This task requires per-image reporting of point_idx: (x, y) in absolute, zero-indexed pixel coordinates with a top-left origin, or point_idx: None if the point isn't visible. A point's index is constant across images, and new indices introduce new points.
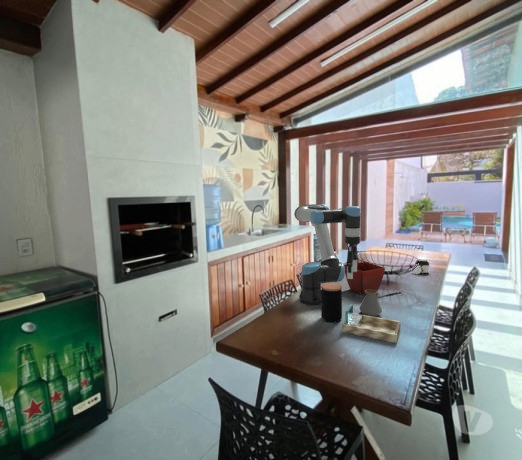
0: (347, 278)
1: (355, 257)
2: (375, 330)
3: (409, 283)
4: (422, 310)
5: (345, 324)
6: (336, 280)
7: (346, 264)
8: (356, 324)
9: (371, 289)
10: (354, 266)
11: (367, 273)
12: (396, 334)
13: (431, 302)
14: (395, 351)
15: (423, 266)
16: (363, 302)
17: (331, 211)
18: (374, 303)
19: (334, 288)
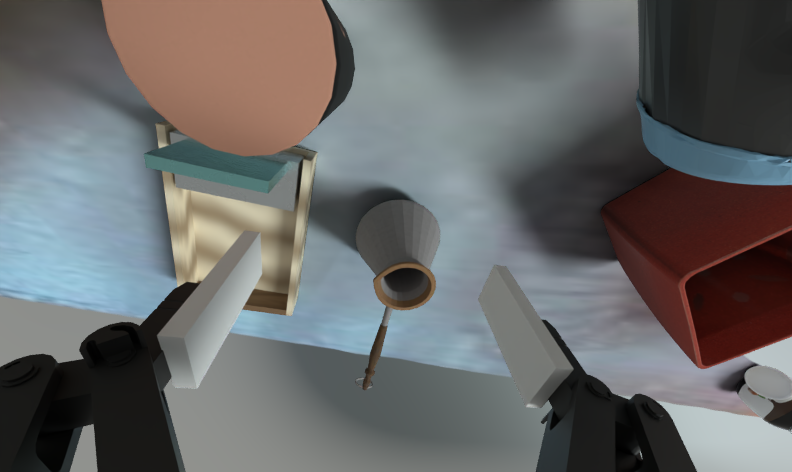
0: (243, 234)
1: (547, 444)
2: (175, 248)
3: (670, 347)
4: (446, 351)
5: (163, 139)
6: (639, 91)
7: (4, 381)
8: (188, 187)
9: (618, 251)
10: (504, 322)
11: (669, 293)
12: None
13: (504, 371)
14: (143, 275)
15: (768, 407)
16: (388, 229)
17: None
18: (372, 270)
19: (160, 86)
